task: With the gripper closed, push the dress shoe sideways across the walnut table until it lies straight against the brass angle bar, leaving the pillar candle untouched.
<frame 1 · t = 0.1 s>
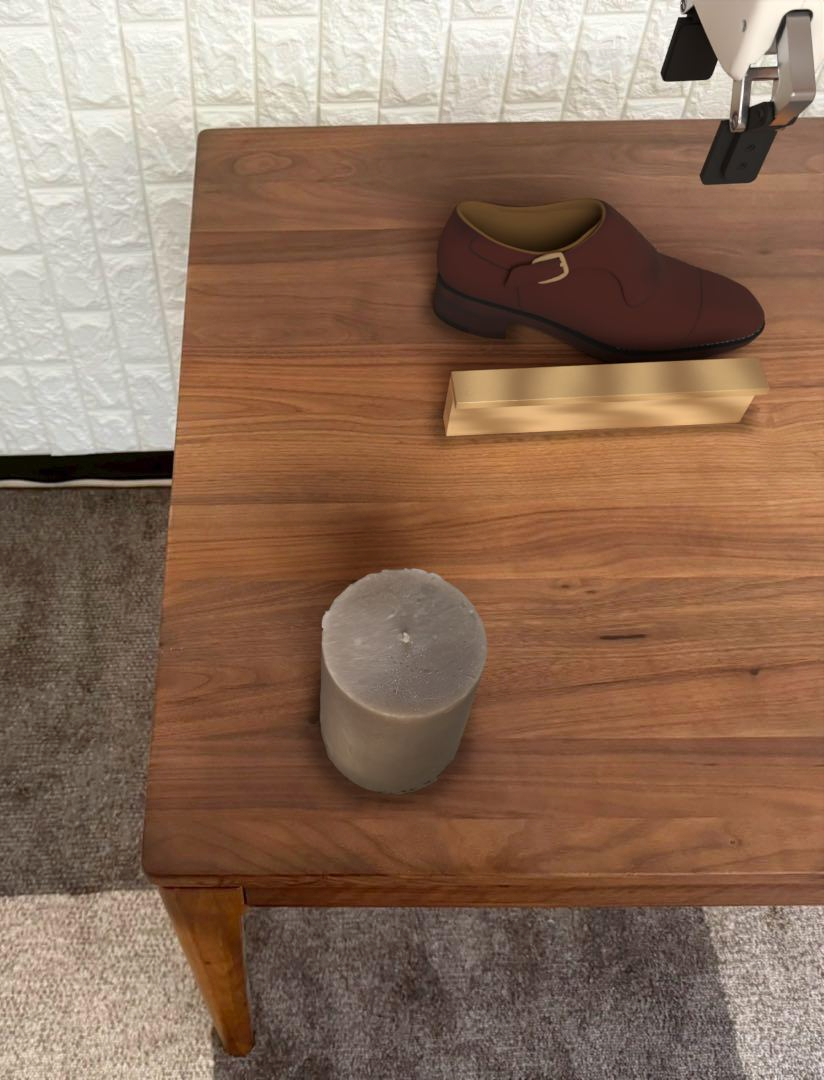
hand: (704, 127, 62), 26 cm above the table, tool pointing down, fingers open, 9 cm apart
dress shoe: (588, 325, 89), on the table
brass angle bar: (590, 420, 83), on the table
pillar candle: (388, 726, 70), on the table
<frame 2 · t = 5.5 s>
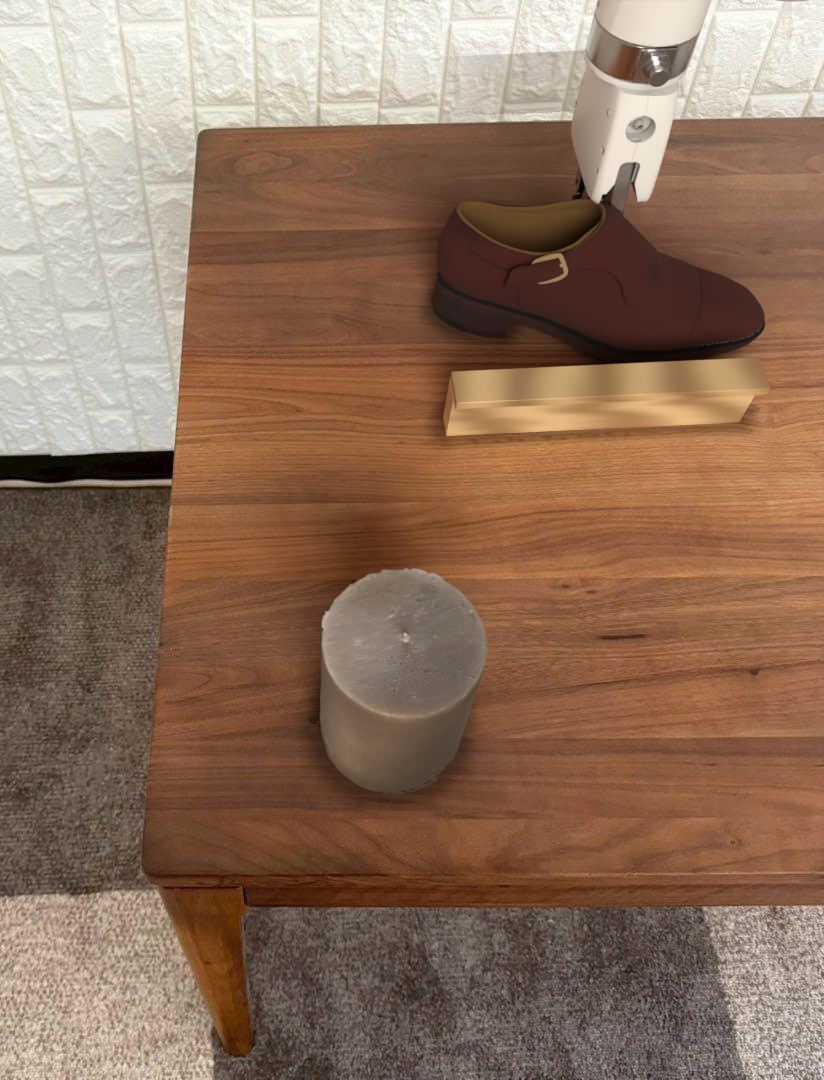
hand: (582, 236, 89), 4 cm above the table, tool pointing down, fingers closed
dress shoe: (588, 325, 89), on the table, touching gripper
everything else where it was.
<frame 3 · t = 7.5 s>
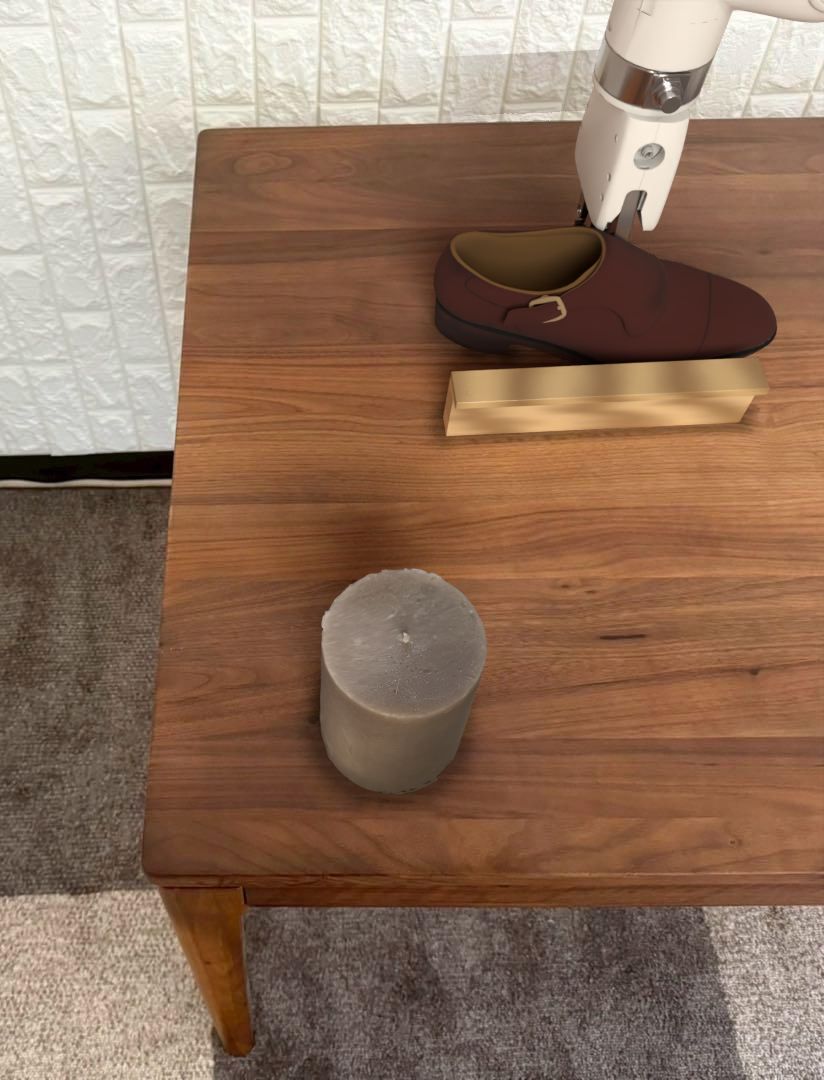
hand: (583, 262, 86), 5 cm above the table, tool pointing down, fingers closed
dress shoe: (594, 330, 87), point 1 cm above the table, touching gripper
everything else where it was.
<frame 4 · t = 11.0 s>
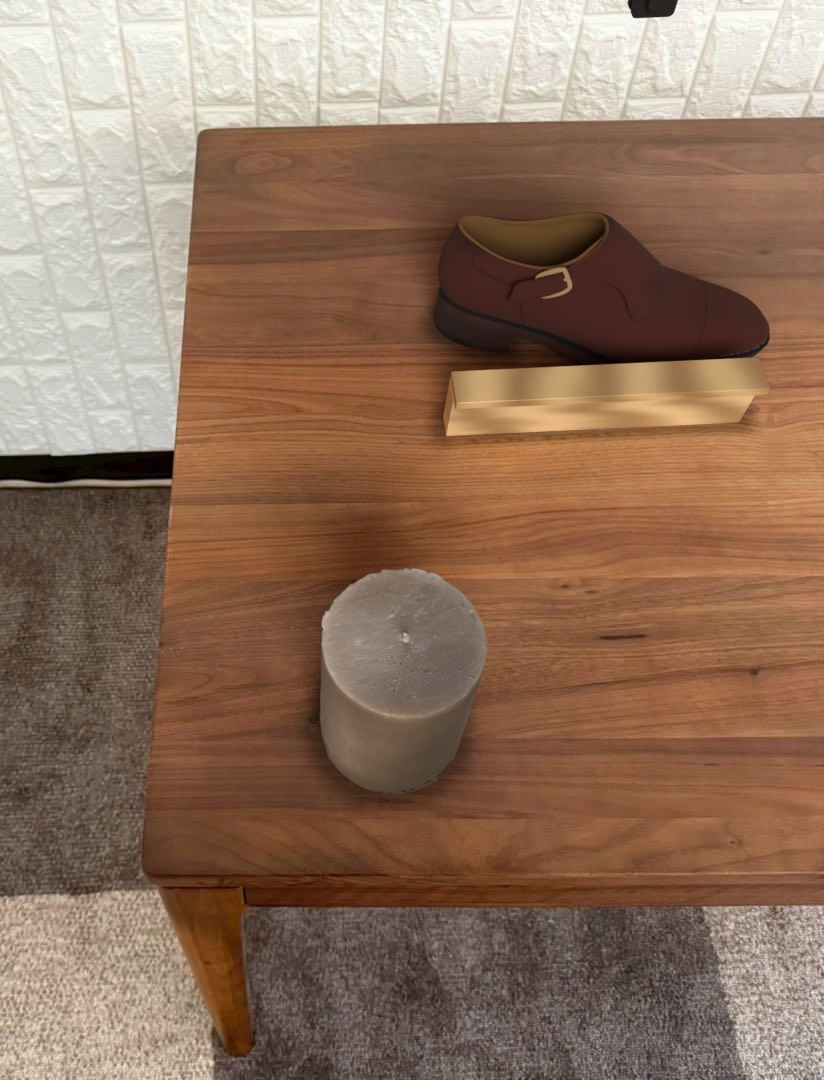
hand: (649, 10, 77), 21 cm above the table, tool pointing down, fingers closed
dress shoe: (591, 339, 88), on the table
everything else where it was.
at the end: dress shoe inside the target area on the table beside the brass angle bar (2.4 cm from its centre), on the table; dress shoe tilted 0°; pillar candle moved 0.2 cm from its start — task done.
